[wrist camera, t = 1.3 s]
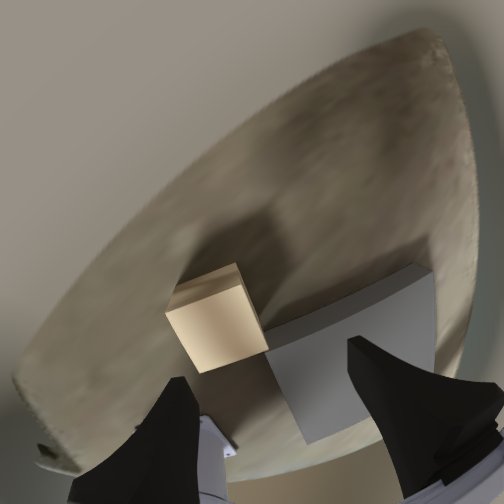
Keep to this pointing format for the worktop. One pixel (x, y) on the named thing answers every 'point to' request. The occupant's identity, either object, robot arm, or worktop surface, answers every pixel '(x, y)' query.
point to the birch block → (216, 319)
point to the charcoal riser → (335, 347)
